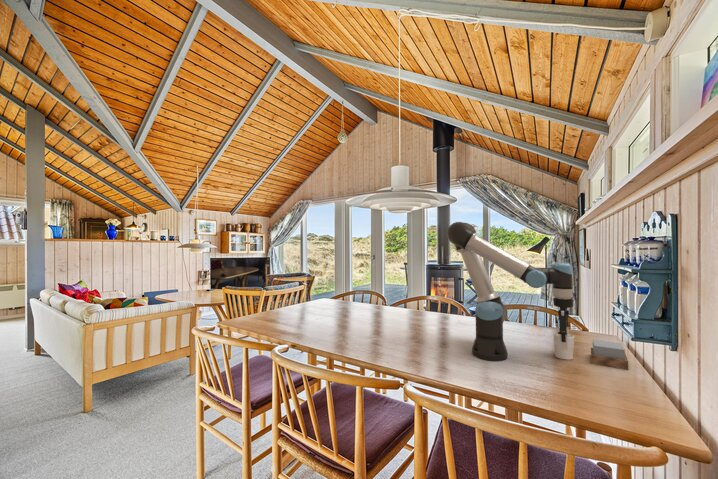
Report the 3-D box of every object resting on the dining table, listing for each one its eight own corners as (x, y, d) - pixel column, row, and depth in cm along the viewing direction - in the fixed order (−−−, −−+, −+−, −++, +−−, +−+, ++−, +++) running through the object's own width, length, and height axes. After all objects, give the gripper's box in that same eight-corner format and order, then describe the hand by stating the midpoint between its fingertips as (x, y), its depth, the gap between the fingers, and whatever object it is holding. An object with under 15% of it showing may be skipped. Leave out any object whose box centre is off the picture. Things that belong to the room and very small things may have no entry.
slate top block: (594, 355, 134) (594, 345, 134) (592, 348, 142) (592, 339, 142) (625, 359, 128) (624, 349, 128) (621, 352, 137) (621, 343, 137)
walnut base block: (591, 364, 134) (591, 355, 134) (590, 356, 143) (590, 347, 143) (628, 371, 127) (628, 361, 127) (625, 361, 136) (625, 352, 136)
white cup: (572, 355, 143) (572, 333, 143) (576, 361, 136) (575, 338, 136) (552, 353, 146) (552, 331, 146) (554, 358, 139) (554, 336, 139)
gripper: (572, 302, 129) (574, 354, 129) (573, 294, 149) (575, 339, 149) (550, 301, 133) (552, 351, 133) (555, 293, 154) (557, 336, 153)
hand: (564, 345), depth 141 cm, fingers open, 13 cm apart
